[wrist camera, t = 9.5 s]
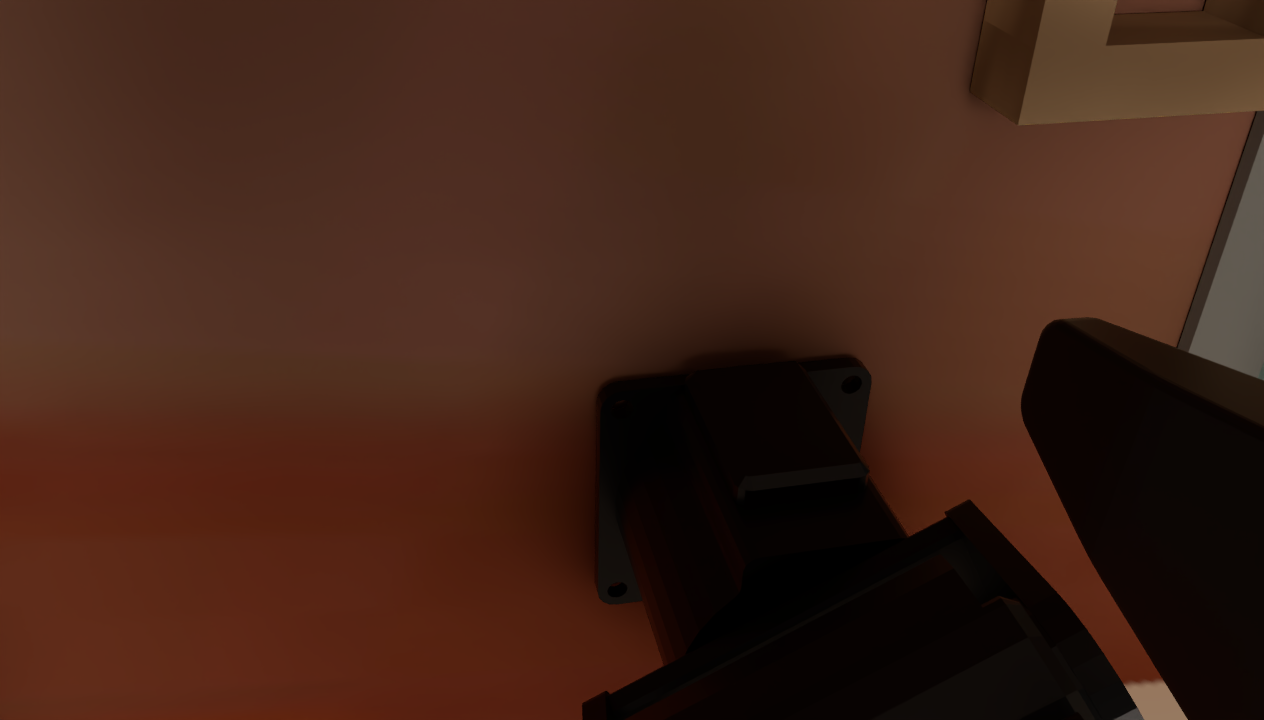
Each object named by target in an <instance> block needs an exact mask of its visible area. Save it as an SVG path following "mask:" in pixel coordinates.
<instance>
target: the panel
mask: <svg viewBox="0 0 1264 720" xmlns="http://www.w3.org/2000/svg"><path fill="white" fill-rule="evenodd" d="M1258 378H1259V379H1261V380H1264V363H1263V366H1262V368H1261V371H1260V373H1259V376H1258Z"/></svg>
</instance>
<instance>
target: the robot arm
mask: <svg viewBox="0 0 1264 720" xmlns="http://www.w3.org/2000/svg"><path fill="white" fill-rule="evenodd" d="M850 376H854V379H853V380H852V381H851V382H850V383H847V384H844V385H842V383H843V381H844V380H845V379H846V378H847V377H850ZM870 388H871V375H870V373H869V372H868V370H867V369H866V368H865V366H864V365H863V363H862V362H861V361H859V360H857V359H856V358H840V359H831V360H821V361H811V362H802V363H797V362H795V361H788V362H778V363H769V364H759V365H749V366H739V367H730V368H720V369H710V370H701V371H696V372H694V373H692V374H686V375H676V376H666V377H657V378H647V379H637V380H627V381H618V382H615V383H611V384H609V385H608V386H606V387H605V388H603V389H602V391H601V392H600V394H599V395H598V399H597V425H596V517H595V584H596V588H597V592H598V595H599V598H600V599H601V600H602V601H603V602H605V603H607V604H623V603H630V602H637V601H643V603H644V606H645V609H646V612H647V615H648V618H649V621H650V624H651V627H652V630H653V633H654V636H655V639H656V642H657V646H658V649H659V652H660V655H661V658H662V661H663V664H664V666H663V667H661V668H659V669H657V670H655V671H653V672H651V673H649V674H648V675H646V676H644V677H642V678H640V679H638V680H636V681H634V682H632V683H630V684H629V685H627V686H625V687H623V688H621V689H619V690H617V691H615V692H613V693H612V694H609V692H607V691H605V692H603V693H601V694H599V695H597V696H595V697H593V698H591V699H589V700H588V701H586V702H584V703H583V704H582V716H583V720H1144V719H1143V717H1142V715H1141V714H1140V712H1139V710H1138V708H1137V706H1136V705H1135V703H1134V701H1133V699H1132V698H1131V696H1130V695H1129V693H1128V691H1127V690H1126V688H1125V686H1124V685H1123V683H1122V681H1121V680H1120V678H1119V676H1118V675H1117V673H1116V672H1115V670H1114V669H1113V667H1112V666H1111V664H1110V663H1109V661H1108V660H1107V658H1106V656H1105V655H1104V653H1103V652H1102V650H1101V649H1100V648H1099V646H1098V645H1097V643H1096V642H1095V640H1094V639H1093V638H1092V636H1091V635H1090V633H1089V632H1088V630H1087V629H1086V628H1085V626H1084V625H1083V624H1082V622H1081V621H1080V620H1079V619H1078V617H1077V616H1076V615H1075V613H1074V612H1073V611H1072V609H1071V608H1070V607H1069V606H1068V605H1067V603H1066V602H1065V601H1064V600H1063V599H1062V598H1061V596H1060V595H1059V594H1058V593H1057V592H1056V591H1055V590H1054V589H1053V588H1052V587H1051V585H1050V584H1049V583H1048V582H1047V581H1046V580H1045V579H1044V578H1043V577H1042V576H1041V575H1040V574H1039V573H1038V572H1037V571H1036V570H1035V568H1034V567H1033V566H1032V565H1031V564H1030V563H1029V562H1028V561H1027V560H1026V559H1025V558H1024V557H1023V556H1022V555H1021V554H1020V553H1019V551H1018V550H1017V549H1016V548H1015V547H1014V546H1013V545H1012V544H1011V543H1010V542H1009V541H1008V540H1007V539H1006V538H1005V537H1004V535H1003V534H1002V533H1001V532H1000V531H999V530H998V529H997V528H996V527H995V526H994V525H993V524H992V523H991V522H990V521H989V520H988V518H987V517H986V516H985V515H984V514H983V513H982V512H981V511H980V510H979V509H978V508H977V507H976V506H975V505H974V504H973V502H972V501H971V500H967V501H965V502H963V503H961V504H959V505H957V506H956V507H954V508H952V509H950V510H948V511H946V512H945V514H946V518H944V519H942V520H940V521H938V522H936V523H934V524H932V525H930V526H929V527H927V528H925V529H923V530H921V531H919V532H917V533H915V534H913V535H911V536H910V537H909V536H908V534H907V533H906V531H905V530H904V528H903V527H902V525H901V523H900V522H899V520H898V519H897V517H896V516H895V514H894V513H893V511H892V510H891V508H890V506H889V505H888V503H887V502H886V500H885V499H884V497H883V496H882V494H881V493H880V491H879V489H878V488H877V486H876V485H875V483H874V482H873V480H872V479H871V477H870V476H869V467H868V465H867V463H866V462H865V460H864V459H863V457H862V456H861V454H860V448H861V442H862V436H863V430H864V424H865V418H866V412H867V406H868V400H869V394H870ZM621 400H626V401H629V402H628V404H627V405H626V406H625V407H623V408H620V409H613V408H612V406H613V405H614V404H615V403H616V402H618V401H621ZM1021 412H1022V417H1023V421H1024V424H1025V426H1026V428H1027V431H1028V433H1029V435H1030V437H1031V439H1032V441H1033V443H1034V445H1035V447H1036V449H1037V451H1038V454H1039V456H1040V458H1041V460H1042V462H1043V464H1044V466H1045V468H1046V470H1047V472H1048V474H1049V477H1050V479H1051V481H1052V483H1053V485H1054V487H1055V489H1056V491H1057V493H1058V495H1059V497H1060V499H1061V502H1062V504H1063V506H1064V508H1065V510H1066V512H1067V514H1068V516H1069V518H1070V520H1071V522H1072V525H1073V527H1074V529H1075V531H1076V533H1077V535H1078V537H1079V539H1080V541H1081V543H1082V545H1083V547H1084V549H1085V551H1086V553H1087V554H1088V556H1089V558H1090V560H1091V562H1092V564H1093V565H1094V567H1095V569H1096V570H1097V572H1098V574H1099V576H1100V577H1101V579H1102V581H1103V582H1104V584H1105V586H1106V587H1107V589H1108V591H1109V592H1110V594H1111V595H1112V597H1113V599H1114V600H1115V602H1116V604H1117V605H1118V607H1119V608H1120V610H1121V612H1122V613H1123V615H1124V617H1125V618H1126V620H1127V621H1128V623H1129V625H1130V626H1131V628H1132V630H1133V631H1134V633H1135V634H1136V636H1137V638H1138V639H1139V641H1140V643H1141V644H1142V646H1143V647H1144V649H1145V651H1146V652H1147V654H1148V656H1149V657H1150V659H1151V660H1152V662H1153V664H1154V665H1155V667H1156V669H1157V670H1158V672H1159V673H1160V675H1161V677H1162V678H1163V680H1164V682H1165V683H1166V685H1167V686H1168V688H1169V690H1170V691H1171V693H1172V694H1173V696H1174V698H1175V699H1176V701H1177V703H1178V704H1179V706H1180V707H1181V709H1182V711H1183V712H1184V714H1185V716H1186V717H1187V719H1188V720H1264V380H1261V379H1259V378H1256V377H1253V376H1251V375H1248V374H1245V373H1243V372H1240V371H1237V370H1235V369H1232V368H1229V367H1227V366H1224V365H1221V364H1218V363H1216V362H1213V361H1210V360H1208V359H1205V358H1202V357H1200V356H1197V355H1194V354H1192V353H1189V352H1186V351H1184V350H1181V349H1178V348H1176V347H1173V346H1170V345H1167V344H1165V343H1162V342H1159V341H1157V340H1154V339H1151V338H1149V337H1146V336H1143V335H1141V334H1138V333H1135V332H1133V331H1130V330H1127V329H1125V328H1122V327H1119V326H1116V325H1114V324H1111V323H1108V322H1106V321H1103V320H1100V319H1097V318H1089V317H1086V318H1071V319H1059V320H1054V321H1052V322H1051V323H1049V324H1048V325H1047V326H1046V327H1045V328H1044V329H1043V331H1042V333H1041V335H1040V338H1039V341H1038V344H1037V347H1036V351H1035V354H1034V357H1033V360H1032V364H1031V367H1030V370H1029V373H1028V377H1027V380H1026V383H1025V386H1024V390H1023V393H1022V398H1021ZM617 582H622V583H620V584H619V585H617V586H611V585H612V584H614V583H617Z"/></svg>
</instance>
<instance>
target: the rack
mask: <svg viewBox="0 0 1264 720" xmlns="http://www.w3.org/2000/svg"><path fill="white" fill-rule="evenodd" d="M1116 4H1117V0H987V5H986V10H985V15H984V20H983V26H982V31H981V36H980V41H979V46H978V52H977V57H976V62H975V67H974V72H973V77H972V83H971V88H970V92H971V93H972V94H974V95H975V96H977V97H978V98H979V99H981V100H982V101H984V102H985V103H987V104H988V105H989V106H991V107H992V108H994V109H995V110H997V111H998V112H999V113H1001V114H1002V115H1004V116H1005V117H1007V118H1008V119H1009V120H1011V121H1012V122H1014V123H1015V124H1016V125H1034V124H1051V123H1067V122H1084V121H1100V120H1116V119H1133V118H1149V117H1166V116H1182V115H1199V114H1215V113H1232V112H1248V111H1264V0H1206V4H1205V7H1204V10H1203V11H1189V12H1164V13H1139V14H1114V11H1115V8H1116Z"/></svg>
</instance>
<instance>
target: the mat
mask: <svg viewBox="0 0 1264 720" xmlns="http://www.w3.org/2000/svg"><path fill="white" fill-rule="evenodd" d="M1178 349H1181V350H1184V351H1186V352H1189V353H1192V354H1194V355H1197V356H1200V357H1202V358H1205V359H1208V360H1210V361H1213V362H1216V363H1218V364H1221V365H1224V366H1227V367H1229V368H1232V369H1235V370H1237V371H1240V372H1243V373H1245V374H1248V375H1251V376H1253V377H1256V378H1258V376H1259V373H1260V371H1261V368H1262V366H1263V363H1264V111H1257V114H1256V117H1255V120H1254V123H1253V125H1252V128H1251V131H1250V134H1249V137H1248V140H1247V143H1246V146H1245V149H1244V152H1243V155H1242V158H1241V161H1240V164H1239V167H1238V170H1237V173H1236V176H1235V179H1234V182H1233V185H1232V188H1231V191H1230V194H1229V197H1228V200H1227V203H1226V206H1225V208H1224V211H1223V214H1222V217H1221V220H1220V223H1219V226H1218V229H1217V232H1216V235H1215V238H1214V241H1213V244H1212V247H1211V250H1210V253H1209V256H1208V259H1207V262H1206V265H1205V268H1204V271H1203V274H1202V277H1201V280H1200V283H1199V286H1198V288H1197V291H1196V294H1195V297H1194V300H1193V303H1192V306H1191V309H1190V312H1189V315H1188V318H1187V321H1186V324H1185V327H1184V330H1183V333H1182V336H1181V339H1180V342H1179V345H1178Z"/></svg>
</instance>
